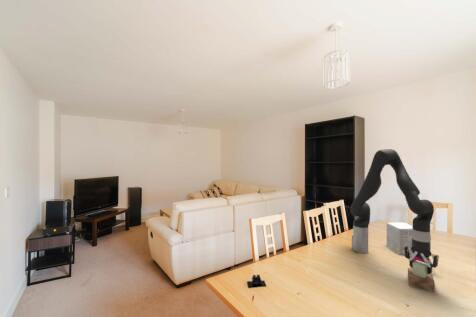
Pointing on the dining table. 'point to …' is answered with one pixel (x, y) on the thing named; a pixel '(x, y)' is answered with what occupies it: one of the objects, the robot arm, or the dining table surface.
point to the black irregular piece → (256, 282)
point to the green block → (420, 269)
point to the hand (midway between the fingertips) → (420, 270)
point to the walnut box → (421, 281)
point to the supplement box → (399, 237)
